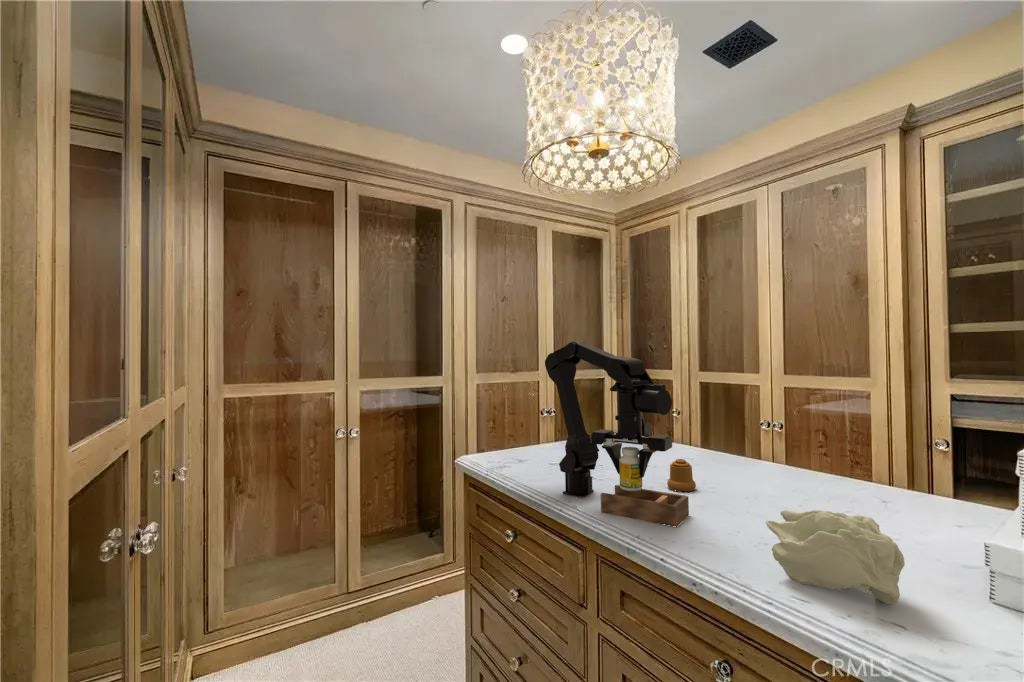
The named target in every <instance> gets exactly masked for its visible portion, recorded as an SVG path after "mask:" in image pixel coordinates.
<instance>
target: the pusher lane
mask: <svg viewBox="0 0 1024 682" xmlns="http://www.w3.org/2000/svg"><path fill="white" fill-rule="evenodd" d="M662 495H664V496H668V504H666V503H660V502H655V501H656V500H657V499H658V498H660V497H661V496H662ZM689 505H690V504H689V496H688V495H685V494H679V493H672V492H666V491H660V490H659V491H658V490H653V489H647V488H642V489H641V490H639V491H627V490H623V489H621V488H620V484H615V485H614V493H607V492H601V493H600V512H601V513H603V514H607V515H612V516H617V517H622V518H627V519H633V520H638V521H642V522H648V523H652V524H653V523H654V524H657V523H659V524H658V525H662V524H665V525H664V526H667V525H670V526H669V527H672V526H676V527H675V528H678V527H677V526H678V525H679V524H680V523H681V522H682V521H683V520H684V519H685V518H686V517H687V516H688V515H689V516H690V510H689V509H690V506H689ZM689 516H688V517H689ZM688 517H687V518H688ZM687 518H686V519H687ZM686 519H685V520H686ZM685 520H684V521H685ZM684 521H683V522H684ZM683 522H682V523H683ZM682 523H681V524H682ZM681 524H680V525H681ZM680 525H679V526H680Z"/></svg>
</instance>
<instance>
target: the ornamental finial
mask: <svg viewBox="0 0 1024 682" xmlns="http://www.w3.org/2000/svg"><path fill="white" fill-rule="evenodd" d="M693 477H694V476H693V466H692V465H691V464H690V463H689V462H688V461H687V460H686V459H683V458H677V459H675V460H674V461H672V463H670V465H669V478H668V480H667V482H666V485H667V488H668V489H670V490H671V489H672V490H671V491H673V490H676V491H675V492H678V491H691V492H693V491H694V490H695V489H696V487H697V484H696V482H695V480H694V478H693ZM692 490H693V491H692Z"/></svg>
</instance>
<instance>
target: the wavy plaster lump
mask: <svg viewBox="0 0 1024 682" xmlns="http://www.w3.org/2000/svg"><path fill="white" fill-rule="evenodd" d="M780 515H781V516H782V518H783V520H784V521H782V522H778V521H777V522H776V521H774V520H767V521H765V525H766V526H767V528H768V529H769V530H770V531H771V532H772V533H773V534H774V535H775V536H777V538H778V539H779V542H777V543H775V544H773V545H772V546H771V547H772V548H771V551H772V556H773V558H774V560H775V561H777V562H778V564H779V565H780V567H782V569H783V571H784V573H785V574H786V576H787V577H788V578H789V579H790V580H791V581H793V580H795V581H796V582H798V583H799V584H803V585H814V586H820V587H822V588H825V589H828V590H829V589H831V590H832V589H833V590H845V589H853V588H855V589H857V590H859V591H861V592H863V593H867V592H869V591H870V593H871V594H872V595H873V596H874V597H875V598H876V599H877V600H879V601H880V602H882V603H884V604H886V605H892V604H895V603H897V602H898V601H899V600H900V595H901V594H900V587H899V581H900V575H901V572H902V570H903V569H904V567H905V564H906V563H905V557H904V555H903V553H902V551H901V550H900V548H899V546H898V544H897V543H896V542H895V541H894V540H893V539H892V538H891V537H890V536H888V535H887V534H884V533H882V531H881V530H880V525H879V524H878V523H877V522H876V521H875V520H874V519H873V518H872V517H867V516H865V515H860V514H855V515H853V516H850V515H846V514H845V513H843V512H834V511H833V512H832V511H829V510H821V509H813V510H809V511H804V512H803V511H802V512H798V511H793V510H787V509H784V510H781V511H780Z"/></svg>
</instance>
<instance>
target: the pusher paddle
mask: <svg viewBox="0 0 1024 682" xmlns="http://www.w3.org/2000/svg"><path fill="white" fill-rule="evenodd" d="M655 502H660V503H666V504H668V496H664V495H662V496H661V497H660V498H658V499H657V500H656V501H655Z"/></svg>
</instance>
